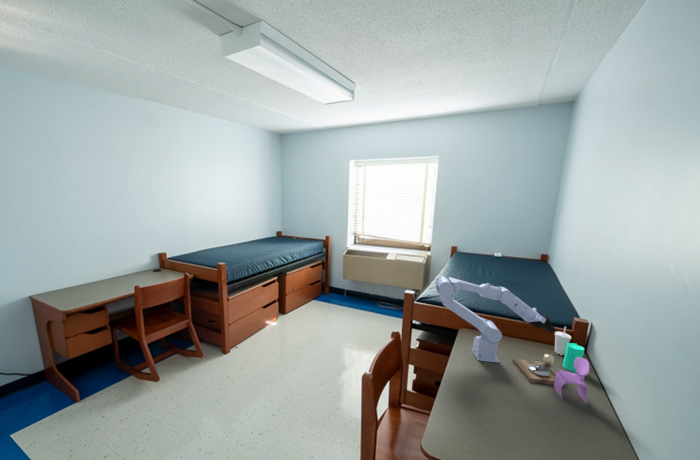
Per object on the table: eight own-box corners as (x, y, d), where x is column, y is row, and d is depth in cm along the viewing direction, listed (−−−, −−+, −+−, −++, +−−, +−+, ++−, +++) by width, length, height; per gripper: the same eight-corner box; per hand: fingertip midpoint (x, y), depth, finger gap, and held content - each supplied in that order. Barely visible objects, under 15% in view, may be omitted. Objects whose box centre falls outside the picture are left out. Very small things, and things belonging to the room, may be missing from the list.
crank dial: (542, 378, 108) (545, 366, 107) (523, 366, 114) (525, 355, 114) (559, 372, 113) (562, 360, 112) (540, 361, 120) (542, 350, 119)
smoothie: (554, 355, 129) (560, 327, 127) (549, 348, 135) (554, 321, 133) (570, 358, 127) (576, 330, 126) (564, 351, 134) (569, 324, 132)
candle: (583, 373, 117) (589, 347, 115) (569, 372, 117) (575, 346, 115) (572, 364, 123) (577, 339, 121) (559, 363, 123) (564, 338, 121)
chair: (551, 384, 107) (558, 349, 105) (576, 390, 105) (584, 354, 103) (561, 399, 99) (569, 362, 97) (589, 406, 97) (598, 368, 95)
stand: (528, 381, 108) (529, 377, 108) (512, 361, 121) (512, 358, 121) (562, 385, 107) (563, 381, 107) (542, 365, 120) (543, 361, 120)
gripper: (538, 303, 111) (565, 325, 110) (515, 299, 126) (539, 318, 125) (528, 317, 110) (556, 339, 110) (507, 311, 125) (531, 330, 124)
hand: (546, 328), depth 117 cm, fingers open, 7 cm apart
